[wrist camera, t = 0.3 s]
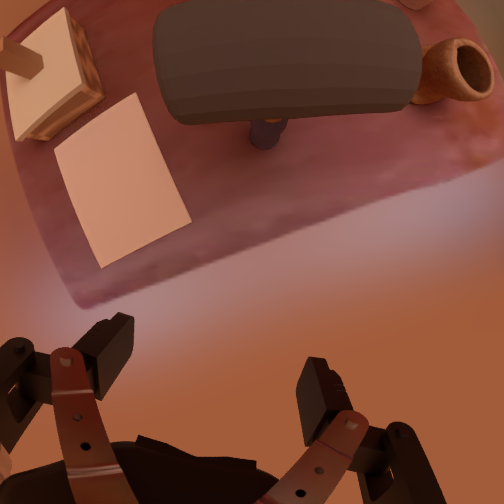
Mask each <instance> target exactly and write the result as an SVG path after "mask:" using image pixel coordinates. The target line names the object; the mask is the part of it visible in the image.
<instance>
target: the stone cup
mask: <svg viewBox="0 0 504 504" xmlns="http://www.w3.org/2000/svg"><path fill="white" fill-rule="evenodd" d="M421 51H422V74H421V78H420V83H419V87H418V89H417V91H416V92H415V94H414V96H413V98H412V100H411V102H412V103H415V104H428V103H433V102H436V101H439V100H441V99H443V98H445V97H448V98H451V99H455V100H459V101H478V100H483V99H486V98H487V97H488V96H489V95H490V94H491V92H492V90H493V88H494V71H493V67H492V65H491V62H490V60H489V58H488V56H487V55H486V53H485V52H484V51H483V50H482V49H481V47H480V46H478V45H477V44H476V43H474V42H473V41H471V40H469V39H467V38H461V37H456V38H451V39H448V40H445V41H442V42H440V43H438V44H435V45H427V46H422V47H421Z"/></svg>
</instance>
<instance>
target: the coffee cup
mask: <svg viewBox="0 0 504 504" xmlns="http://www.w3.org/2000/svg"><path fill="white" fill-rule="evenodd" d="M398 1H399V2H401V3H402V4H403V5H404V6H406V7H408V8H410V9H412V10H420V9H422V8H423V7H424V6H426V5H427V4H429V3H430V2H432V1H433V0H398Z"/></svg>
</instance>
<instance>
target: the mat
mask: <svg viewBox="0 0 504 504" xmlns="http://www.w3.org/2000/svg"><path fill="white" fill-rule="evenodd" d="M54 151H55V155H56V158H57V161H58V164H59V167H60V170H61V173H62V176H63V179H64V182H65V185H66V188H67V190H68V193H69V196H70V198H71V201H72V204H73V206H74V209H75V211H76V214H77V216H78V219H79V221H80V223H81V226H82V228H83V230H84V233H85V235H86V237H87V239H88V242H89V244H90V246H91V248H92V250H93V252H94V255H95V257H96V259H97V261H98V263H99V265H100V267H101V268H103V267H105V266H107V265H109V264H110V263H112V262H114V261H116V260H118V259H120V258H122V257H124V256H126V255H127V254H129V253H131V252H133V251H135V250H137V249H139V248H141V247H143V246H145V245H147V244H149V243H151V242H153V241H155V240H157V239H159V238H161V237H163V236H165V235H167V234H169V233H171V232H173V231H175V230H177V229H179V228H181V227H183V226H185V225H187V224H189V223H191V222H193V221H192V219H191V217H190V215H189V213H188V211H187V208H186V206H185V204H184V202H183V200H182V198H181V195H180V193H179V191H178V189H177V187H176V184H175V182H174V180H173V178H172V175H171V173H170V171H169V169H168V166H167V164H166V162H165V160H164V157H163V155H162V153H161V150H160V148H159V146H158V143H157V141H156V139H155V136H154V134H153V132H152V129H151V127H150V125H149V122H148V120H147V117H146V115H145V113H144V110H143V108H142V105H141V103H140V100H139V98H138V95H137V93H136V92H135V93H133V94H132V95H130V96H128V97H127V98H125V99H123V100H122V101H120V102H119V103H117V104H115V105H114V106H112V107H111V108H109V109H108V110H106V111H105V112H103V113H102V114H100V115H99V116H97V117H96V118H94V119H93V120H92V121H90V122H89V123H87V124H86V125H85V126H83V127H82V128H81V129H79V130H78V131H77V132H75V133H74V134H73V135H71V136H70V137H69V138H68V139H66V140H65V141H64V142H63V143H61V144H60V145H59V146H58V147H56V148H55V149H54Z"/></svg>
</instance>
